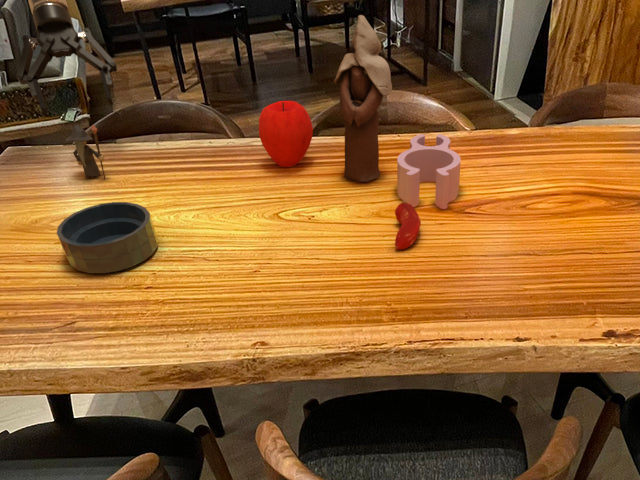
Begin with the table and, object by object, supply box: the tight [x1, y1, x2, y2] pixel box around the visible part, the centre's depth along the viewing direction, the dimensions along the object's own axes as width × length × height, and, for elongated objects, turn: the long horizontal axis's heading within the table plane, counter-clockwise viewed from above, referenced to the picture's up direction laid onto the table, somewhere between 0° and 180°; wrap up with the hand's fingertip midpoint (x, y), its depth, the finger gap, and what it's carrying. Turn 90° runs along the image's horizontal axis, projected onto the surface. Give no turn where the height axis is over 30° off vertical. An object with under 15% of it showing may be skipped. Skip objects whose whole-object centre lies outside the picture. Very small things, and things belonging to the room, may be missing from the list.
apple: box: [258, 100, 314, 168], centre depth 135 cm, size 12×12×13 cm
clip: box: [396, 133, 462, 210], centre depth 127 cm, size 20×12×7 cm, turn 174°
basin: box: [56, 201, 159, 274], centre depth 111 cm, size 16×16×6 cm
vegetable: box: [394, 202, 422, 250], centre depth 113 cm, size 4×5×12 cm
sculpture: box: [333, 14, 393, 183], centre depth 124 cm, size 12×13×30 cm
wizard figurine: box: [64, 124, 106, 180], centre depth 134 cm, size 8×6×12 cm
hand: (77, 106), depth 135 cm, fingers open, 13 cm apart
